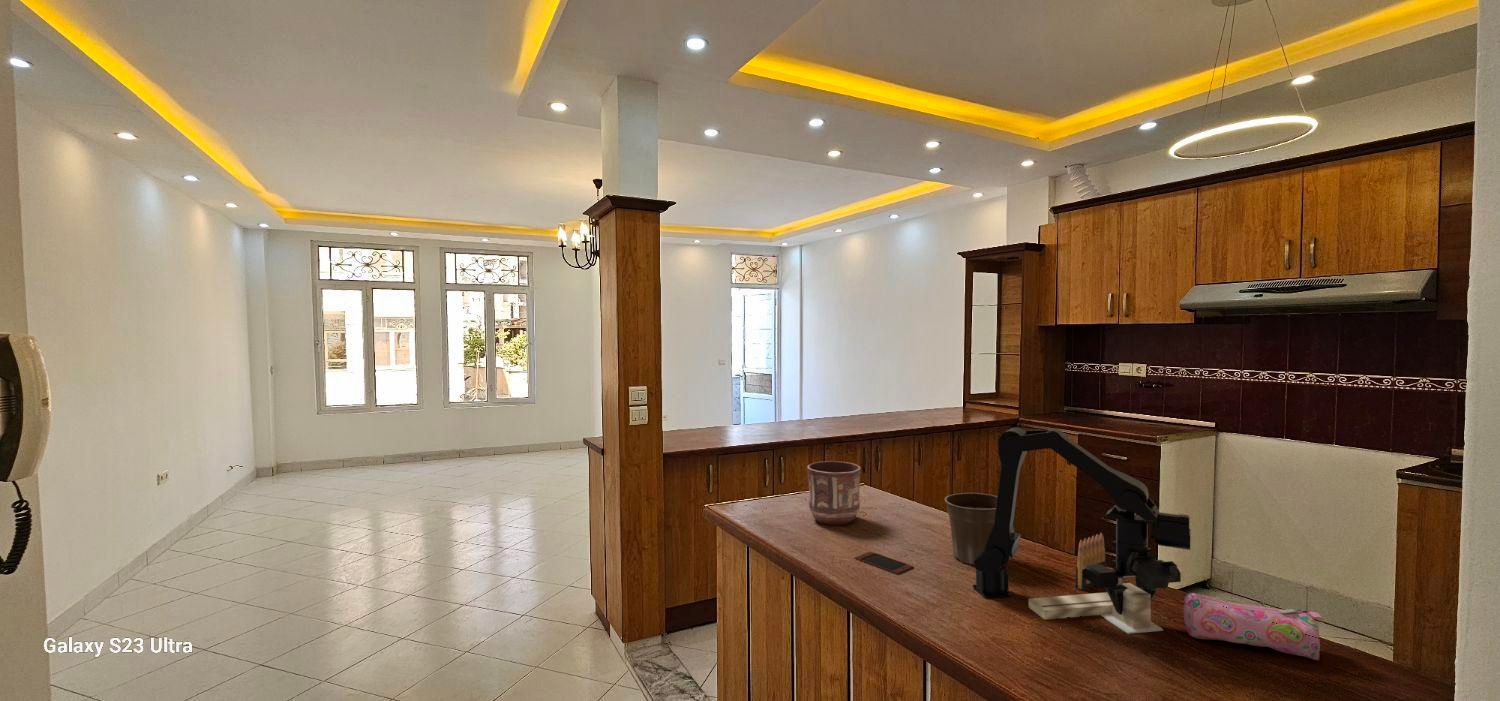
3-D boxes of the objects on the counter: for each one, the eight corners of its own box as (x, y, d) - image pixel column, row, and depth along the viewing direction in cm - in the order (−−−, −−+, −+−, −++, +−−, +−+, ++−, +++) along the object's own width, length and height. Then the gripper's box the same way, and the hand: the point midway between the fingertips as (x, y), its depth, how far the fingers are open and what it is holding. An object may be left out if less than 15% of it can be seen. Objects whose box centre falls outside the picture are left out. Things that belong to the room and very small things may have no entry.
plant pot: (942, 565, 167) (942, 505, 166) (947, 545, 182) (947, 490, 181) (1008, 573, 161) (1008, 511, 160) (1008, 551, 176) (1007, 495, 175)
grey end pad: (1127, 633, 128) (1127, 632, 128) (1101, 615, 136) (1101, 614, 136) (1163, 630, 129) (1163, 629, 129) (1134, 613, 137) (1134, 611, 137)
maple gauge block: (1132, 629, 130) (1133, 596, 129) (1112, 615, 136) (1112, 584, 135) (1150, 627, 130) (1150, 594, 130) (1129, 614, 136) (1129, 582, 136)
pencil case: (1312, 647, 122) (1312, 601, 122) (1329, 670, 114) (1330, 621, 114) (1180, 625, 132) (1180, 583, 132) (1187, 645, 124) (1188, 600, 124)
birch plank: (1044, 619, 135) (1044, 610, 135) (1028, 607, 141) (1028, 598, 141) (1137, 611, 138) (1137, 602, 138) (1117, 600, 144) (1117, 591, 144)
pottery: (805, 527, 200) (804, 471, 199) (809, 511, 217) (808, 460, 217) (861, 530, 197) (861, 473, 196) (860, 513, 214) (860, 461, 214)
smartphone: (897, 572, 161) (853, 556, 172) (897, 576, 161) (853, 560, 172) (914, 565, 165) (870, 550, 177) (914, 569, 165) (870, 554, 177)
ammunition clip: (1082, 591, 149) (1082, 541, 149) (1075, 588, 151) (1075, 539, 150) (1107, 580, 155) (1107, 532, 154) (1099, 578, 157) (1099, 530, 156)
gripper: (1118, 557, 123) (1118, 635, 124) (1203, 551, 125) (1202, 627, 126) (1081, 538, 134) (1081, 609, 135) (1160, 533, 137) (1159, 603, 137)
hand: (1131, 612), depth 133 cm, fingers open, 5 cm apart
